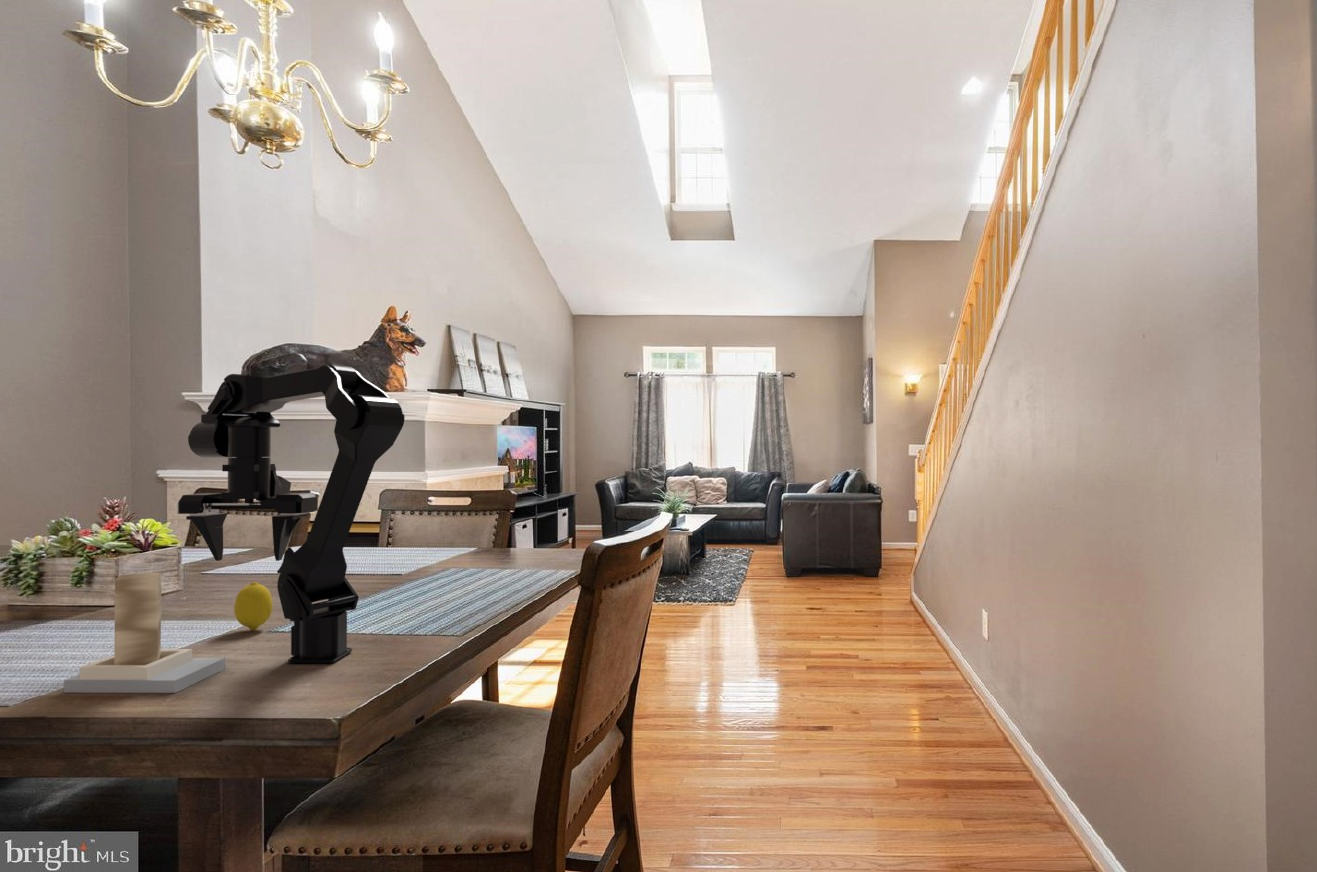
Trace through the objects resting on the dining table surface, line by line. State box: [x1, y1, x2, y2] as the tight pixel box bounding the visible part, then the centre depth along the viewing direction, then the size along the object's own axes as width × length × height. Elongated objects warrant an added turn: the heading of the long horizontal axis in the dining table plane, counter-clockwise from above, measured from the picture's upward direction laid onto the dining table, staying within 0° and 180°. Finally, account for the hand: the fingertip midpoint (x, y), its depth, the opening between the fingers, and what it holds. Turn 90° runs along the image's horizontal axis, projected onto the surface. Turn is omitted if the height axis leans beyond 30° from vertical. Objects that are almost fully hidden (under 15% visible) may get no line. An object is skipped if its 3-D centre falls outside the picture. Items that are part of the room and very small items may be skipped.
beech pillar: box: [113, 571, 162, 665], centre depth 96 cm, size 4×4×12 cm
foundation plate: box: [63, 648, 226, 694], centre depth 97 cm, size 14×10×3 cm
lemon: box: [233, 581, 274, 631], centre depth 123 cm, size 6×6×8 cm
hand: (248, 560), depth 113 cm, fingers open, 9 cm apart
